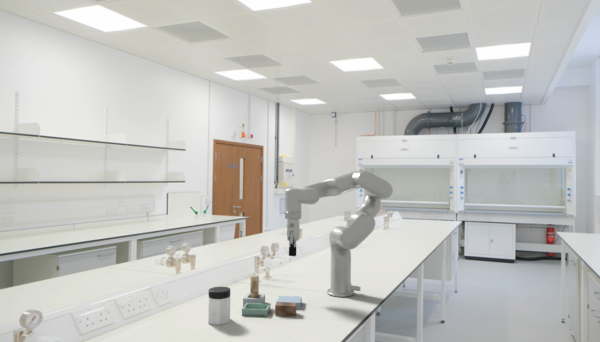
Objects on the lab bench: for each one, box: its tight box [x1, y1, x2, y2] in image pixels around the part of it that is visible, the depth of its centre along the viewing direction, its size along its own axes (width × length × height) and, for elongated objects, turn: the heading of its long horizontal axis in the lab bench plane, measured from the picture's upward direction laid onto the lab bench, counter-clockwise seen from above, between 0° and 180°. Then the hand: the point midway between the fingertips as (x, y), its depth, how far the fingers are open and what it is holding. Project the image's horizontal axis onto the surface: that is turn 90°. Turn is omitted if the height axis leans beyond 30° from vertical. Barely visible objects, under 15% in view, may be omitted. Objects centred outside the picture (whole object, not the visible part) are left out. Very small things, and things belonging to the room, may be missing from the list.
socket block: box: [242, 292, 266, 308], centre depth 176 cm, size 8×8×4 cm
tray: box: [241, 303, 271, 317], centre depth 166 cm, size 10×8×2 cm
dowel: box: [249, 275, 260, 298], centre depth 177 cm, size 4×4×12 cm
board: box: [275, 295, 303, 310], centre depth 176 cm, size 10×9×3 cm
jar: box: [207, 286, 231, 326], centre depth 155 cm, size 9×8×12 cm
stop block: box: [274, 302, 297, 317], centre depth 164 cm, size 8×4×4 cm, turn 85°
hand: (292, 255), depth 187 cm, fingers closed
